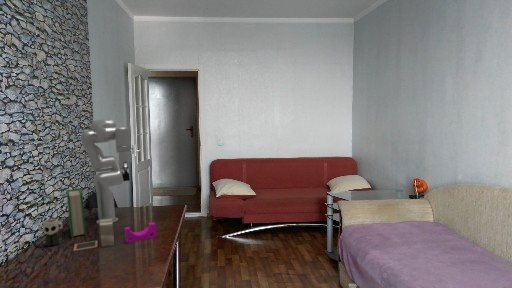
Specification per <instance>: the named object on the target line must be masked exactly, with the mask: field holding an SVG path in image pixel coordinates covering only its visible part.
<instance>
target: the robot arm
mask: <svg viewBox="0 0 512 288" xmlns="http://www.w3.org/2000/svg"><path fill="white" fill-rule="evenodd" d="M90 129H91V130H85V131H84V132H82V133H81V135H80V141H81V144H82V146H83V148H84V150H85V152H86V153H87V155H88V158H89V161H90V165H91V168H92V170H93V171H94V172H95V173H96V174H95V175H94V176H93V184H94V186H95V191H96V200H97V211H98V213H97V214H98V219H97V220H96V224H98V225H100V219H107V218H112V223H116V222H118V220H119V218H118V217H116V212H115V209H116V208H115V200H114V198H115V197H114V193H113V192H114V191H112V190H111V189H110V187H113V186H114V187H115V186H120V185H122V184H123V182H128V181H130V172H129V170H130V152H132V151H131V150H132V149H131V148H132V147H131V140H130V139H131V138H130V137H131V136H130V128H129V127H127V126H125V127H124V126H117V124H116V121H114V120H113V119H109V118H108V119H96V120H93V121H92V122H91V124H90ZM110 141H115V149H116V150H115V151H116V153H118V158H117V156H115V155H106V156H105V155H104V153H103V150H102V149H101V148H100V147H99V146H98V145H96V144H100V143H101V144H102V143H109V142H110Z"/></svg>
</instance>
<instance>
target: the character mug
mask: <svg viewBox="0 0 512 288" xmlns="http://www.w3.org/2000/svg"><path fill="white" fill-rule="evenodd" d="M59 225H60V226H59ZM63 226H64V225H63V222H59V220H58V218H49V219H46V220H44V221H42V224H41V225H39V226H38V230H39V232H43V233H44V234H45V246H48V247H50V246H56V245H58V244H59V243H60V239H59V235H58V232H59V231H60V230H61V229H63V228H64V227H63Z"/></svg>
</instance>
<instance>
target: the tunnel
mask: <svg viewBox="0 0 512 288" xmlns="http://www.w3.org/2000/svg"><path fill="white" fill-rule="evenodd" d="M99 233H100V242H101V247H107V246H108V245H109V246H114V245H115V238H114V225H113V223H112V218H107V219H100V224H99Z"/></svg>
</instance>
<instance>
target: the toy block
mask: <svg viewBox="0 0 512 288" xmlns="http://www.w3.org/2000/svg"><path fill="white" fill-rule="evenodd" d="M156 230H157V229H156V223H155V222H148V226H147V227H145V228H144V229H143V230H141V231H132V230H131V228H130V227H129V226H126V227H124V233H125V236H124V237H125V242H126V244H130V243H134V241H135V242H140V241H144V240H150V239H154V237H155V238H157V231H156ZM139 240H140V241H139Z"/></svg>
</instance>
